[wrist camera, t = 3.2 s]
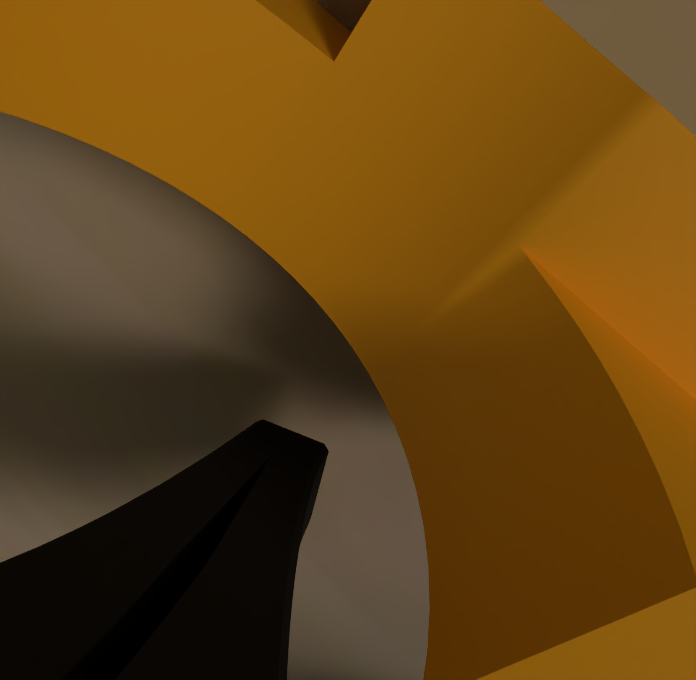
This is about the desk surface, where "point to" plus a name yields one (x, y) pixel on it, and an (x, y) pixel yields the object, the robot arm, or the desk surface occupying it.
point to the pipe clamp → (448, 278)
